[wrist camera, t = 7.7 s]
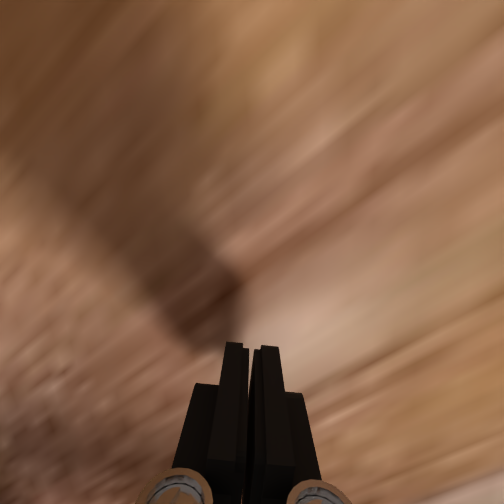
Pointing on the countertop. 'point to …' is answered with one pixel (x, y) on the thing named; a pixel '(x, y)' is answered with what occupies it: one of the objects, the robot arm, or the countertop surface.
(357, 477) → the countertop surface
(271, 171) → the countertop surface
